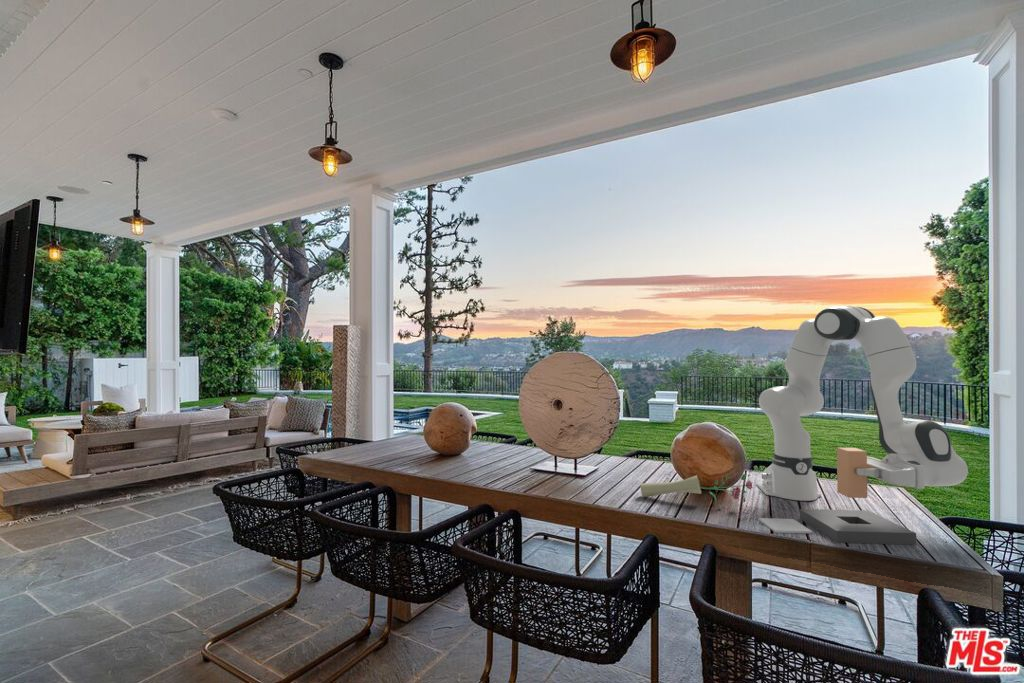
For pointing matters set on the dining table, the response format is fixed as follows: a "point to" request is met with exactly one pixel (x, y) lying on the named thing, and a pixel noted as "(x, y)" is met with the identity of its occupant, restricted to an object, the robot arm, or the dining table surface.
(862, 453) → the peg
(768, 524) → the mat
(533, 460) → the dining table surface
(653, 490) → the flower vase
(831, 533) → the holder
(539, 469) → the dining table surface
